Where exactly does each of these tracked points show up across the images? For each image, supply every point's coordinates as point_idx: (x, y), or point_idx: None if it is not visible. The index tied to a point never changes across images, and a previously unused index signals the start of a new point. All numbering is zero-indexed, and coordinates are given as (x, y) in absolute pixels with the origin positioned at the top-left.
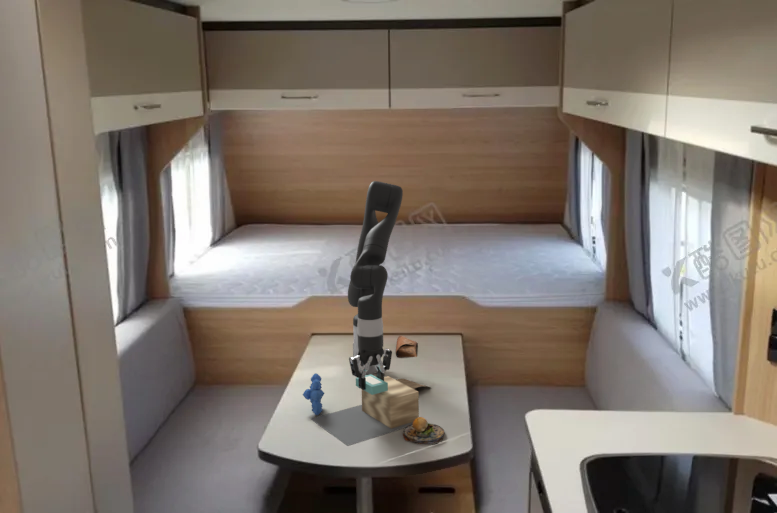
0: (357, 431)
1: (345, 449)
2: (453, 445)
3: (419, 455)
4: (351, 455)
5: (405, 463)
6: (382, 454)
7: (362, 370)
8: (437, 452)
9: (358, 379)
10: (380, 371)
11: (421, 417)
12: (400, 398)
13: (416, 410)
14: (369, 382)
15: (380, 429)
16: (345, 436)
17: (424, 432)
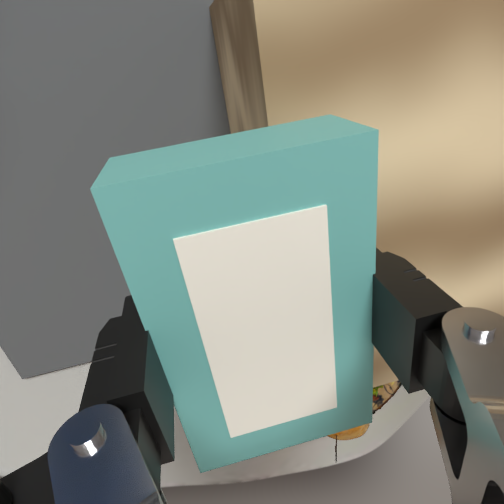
0: (99, 274)
1: (11, 389)
2: (368, 428)
3: (253, 457)
4: (30, 428)
5: (195, 483)
6: None
7: (152, 496)
8: (307, 450)
9: (82, 397)
10: (434, 401)
11: (359, 428)
12: None
13: None
14: (221, 388)
15: None
16: (25, 303)
17: None
